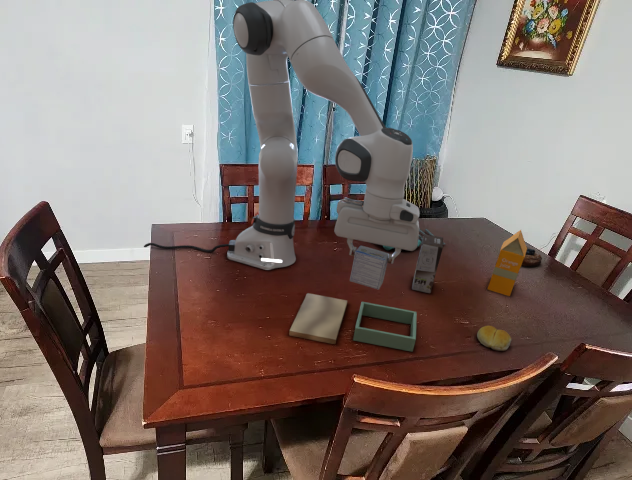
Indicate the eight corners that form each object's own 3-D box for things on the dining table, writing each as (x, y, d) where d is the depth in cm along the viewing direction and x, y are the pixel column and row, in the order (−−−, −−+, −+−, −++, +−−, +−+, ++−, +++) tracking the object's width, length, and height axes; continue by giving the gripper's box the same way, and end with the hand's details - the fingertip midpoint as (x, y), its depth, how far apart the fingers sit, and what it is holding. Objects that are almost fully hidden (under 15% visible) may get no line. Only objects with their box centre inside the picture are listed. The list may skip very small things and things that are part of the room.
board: (289, 335, 112) (289, 330, 112) (306, 297, 129) (307, 293, 128) (335, 344, 112) (335, 339, 111) (346, 304, 128) (347, 300, 128)
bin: (353, 340, 114) (355, 327, 112) (359, 313, 126) (361, 301, 123) (412, 351, 113) (415, 339, 111) (413, 323, 125) (416, 311, 122)
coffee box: (431, 294, 141) (443, 247, 132) (411, 289, 141) (422, 243, 133) (432, 281, 148) (443, 236, 140) (413, 277, 149) (423, 232, 140)
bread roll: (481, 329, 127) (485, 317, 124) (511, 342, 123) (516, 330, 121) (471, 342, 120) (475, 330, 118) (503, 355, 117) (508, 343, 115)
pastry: (524, 253, 180) (529, 240, 177) (543, 267, 171) (549, 253, 168) (502, 254, 177) (507, 240, 173) (520, 268, 167) (526, 254, 164)
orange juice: (513, 286, 153) (533, 232, 142) (509, 296, 146) (530, 240, 135) (490, 279, 155) (509, 226, 145) (486, 289, 148) (505, 234, 138)
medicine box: (382, 283, 114) (390, 253, 109) (378, 290, 110) (385, 260, 106) (354, 274, 115) (360, 244, 111) (349, 281, 112) (355, 250, 107)
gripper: (336, 200, 100) (328, 255, 107) (425, 217, 99) (411, 272, 106) (340, 192, 105) (332, 245, 112) (425, 209, 104) (411, 261, 112)
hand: (371, 258), depth 109 cm, fingers closed on medicine box, 8 cm apart
